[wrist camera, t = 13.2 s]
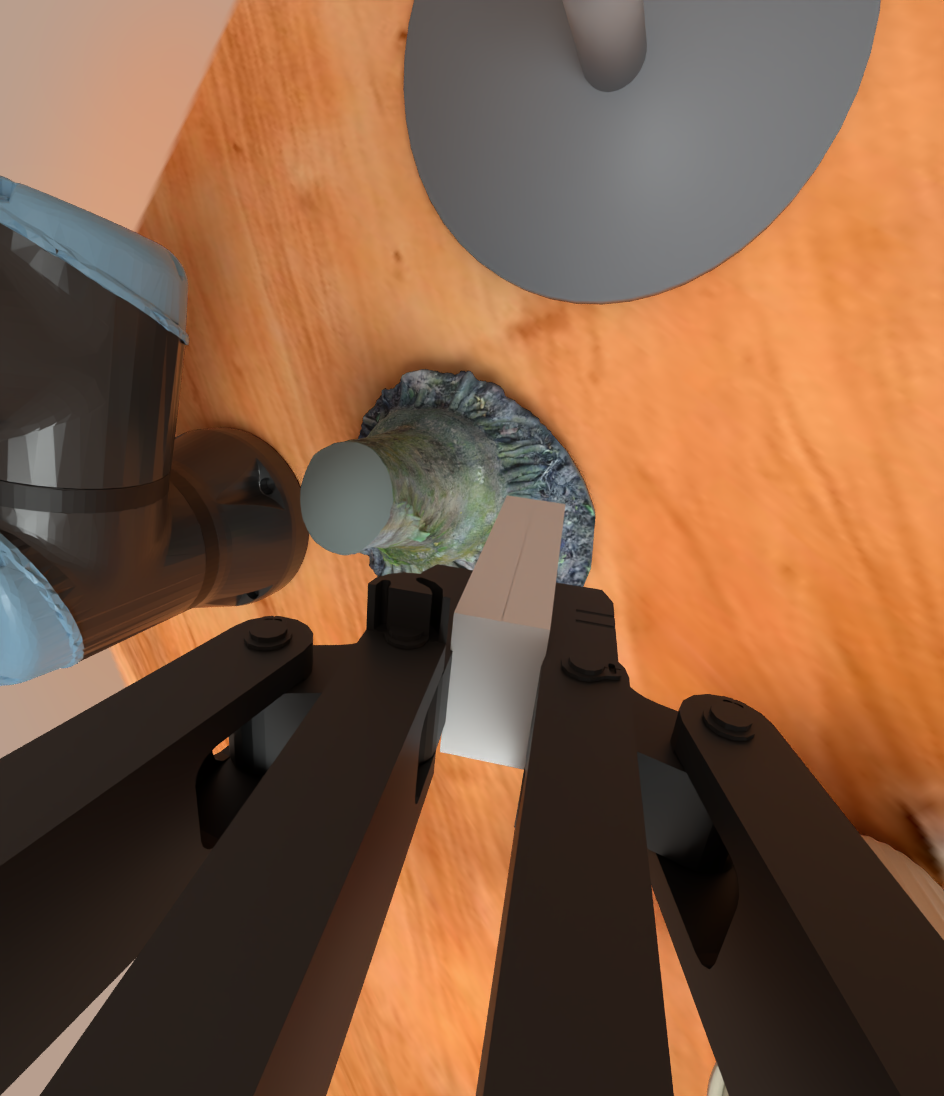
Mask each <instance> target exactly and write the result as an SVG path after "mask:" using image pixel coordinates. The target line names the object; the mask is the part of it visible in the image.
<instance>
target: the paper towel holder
mask: <svg viewBox="0 0 944 1096" xmlns="http://www.w3.org/2000/svg"><path fill="white" fill-rule="evenodd" d="M879 11H880V0H414V3H413V8H412V12H411V17H410V21H409V26H408V34H407V42H406V50H405V60H404V100H405V114H406V123H407V128H408V134H409V139H410V144H411V149H412V153H413V156H414V159H415V163H416V166H417V169H418V172H419V176H420V178H421V180H422V183H423V185H424V187H425V189H426V192H427V194H428V196H429V199H430V201H431V203H432V204H433V206H434V208H435V209H436V211H437V213H438V214H439V216H440V218H441V219H442V221H443V223H444V224H445V225H446V227H447V228H448V229H449V230H450V232H451V233H452V234H453V235H454V237H455V238H456V239H457V240H458V242H459V243H460V244H461V245H462V246H463V247H464V248H465V249H466V250H467V251H468V252H469V253H470V254H471V255H472V256H473V257H475V258H476V259H477V260H478V261H479V262H480V263H481V264H483V265H484V266H486V267H487V268H489V269H490V270H491V271H493V272H494V273H496V274H497V275H498V276H500V277H501V278H503V279H505V280H506V281H508V282H510V283H512V284H514V285H516V286H518V287H520V288H522V289H524V290H526V291H528V292H531V293H534V294H537V295H540V296H543V297H546V298H549V299H553V300H559V301H564V302H570V303H576V304H611V303H621V302H630V301H634V300H638V299H642V298H646V297H651V296H655V295H658V294H661V293H664V292H666V291H669V290H671V289H674V288H677V287H679V286H682V285H685V284H687V283H689V282H691V281H692V280H694V279H696V278H698V277H700V276H702V275H704V274H706V273H708V272H710V271H712V270H713V269H715V268H716V267H718V266H719V265H721V264H722V263H724V262H725V261H727V260H728V259H730V258H731V257H732V256H734V255H735V254H737V253H738V252H740V251H741V250H742V249H743V248H745V247H746V246H747V245H748V244H749V243H750V242H752V241H753V240H754V239H755V238H756V237H757V236H759V235H760V234H761V233H762V232H763V231H764V230H766V229H767V228H768V227H769V226H770V225H771V223H772V222H773V221H774V220H775V219H776V218H777V217H778V216H779V215H780V214H781V213H782V212H783V211H784V210H785V208H786V207H787V206H788V205H789V204H790V203H791V202H792V201H793V199H794V198H795V197H796V195H797V194H798V193H799V191H800V190H801V189H802V187H803V186H804V185H805V183H806V182H807V181H808V180H809V178H810V177H811V176H812V174H813V173H814V171H815V170H816V168H817V167H818V165H819V164H820V162H821V160H822V159H823V157H824V155H825V154H826V152H827V150H828V149H829V147H830V145H831V144H832V142H833V140H834V139H835V137H836V135H837V134H838V132H839V130H840V129H841V126H842V124H843V122H844V120H845V118H846V116H847V113H848V111H849V109H850V107H851V105H852V103H853V100H854V98H855V96H856V94H857V92H858V89H859V86H860V83H861V80H862V77H863V74H864V71H865V68H866V65H867V62H868V59H869V56H870V53H871V49H872V44H873V40H874V35H875V30H876V26H877V21H878V16H879Z"/></svg>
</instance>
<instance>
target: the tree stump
mask: <svg viewBox="0 0 944 1096" xmlns="http://www.w3.org/2000/svg"><path fill="white" fill-rule="evenodd" d="M400 381H401V382H400V383H399V384H397V385H396V386H395V388H393V389H389V390H388V389H386V388H385V389H383V390H382V395H381V396H380V398H379V399H378V400H377V402H376V404H375V406H374V407H373V408H372V409H371V410H369V411H368V413H366V414H365V415H364V417H363V423H362V425H361V427H362V428H361V430H360V435H359V437H358V439H354V440H348V441H345V442H338V443H334V444H332V445H330V446H328V447H326V448H323V449H322V450H320V451H319V452H317V453H316V454H315V455H314V456H313V458H312V459H311V461H310V463H309V465H308V467H307V470H306V472H305V475H304V478H303V481H302V485H301V490H300V505H301V513H302V518H303V521H304V523H305V525H306V528H307V530H308V532H309V533H310V535H311V537H312V538H313V540H314V541H315V542H316V543H318V544H319V545H320V546H322V547H323V548H325V549H326V550H328V551H330V552H333V553H337V554H340V555H350V554H356V553H362V554H364V555H368V556H369V557H370V564H369V566H370V567H371V569H373V570H374V573H375V574H376V575H377V577H380V576H383V575H387V574H391V573H403V572H406V573H418V574H421V573H422V572H423V571H425V570H427V569H429V568H431V567H433V566H435V565H437V564H439V565H445V566H451V567H457V568H463V569H469V570H474V567H475V565H476V563H477V561H478V558H479V556H480V554H481V552H482V550H483V547H484V545H485V543H486V541H487V539H488V536H489V534H490V532H491V530H492V528H493V525H494V523H495V521H496V519H497V517H498V514H499V512H500V510H501V508H502V505H503V503H504V501H505V499H506V497H507V495H508V496H514V497H521V498H528V499H534V500H541V501H547V502H554V503H561V504H565V512H564V520H563V528H562V536H561V545H560V553H559V561H558V569H557V577H556V582H557V583H563V584H569V585H575V586H581V587H583V586H584V583H585V581H586V579H587V576H588V574H589V571H590V569H591V562H592V550H593V537H594V527H595V509H594V506H593V504H592V501H591V498H590V496H589V493H588V490H587V487H586V484H585V482H584V480H583V478H582V476H581V474H580V472H579V470H578V469H577V467H576V465H575V464H574V462H573V460H572V459H571V457H570V455H569V454H568V452H567V451H566V449H565V448H564V447H563V446H562V445H561V444H560V443H559V442H558V440H557V439H556V438H555V437H554V436H553V435H552V434H551V431H550V430H548V429H547V428H546V426H545V425H543V424H541V423H540V421H539V418H537V417H536V416H534V415H533V414H532V413H531V412H530V411H529V410H527V409H525V408H523V407H521V406H520V405H519V404H517V403H516V402H515V400H512V399H510V398H508V397H506V396H505V394H504V391H503V389H502V388H501V387H500V386H498V385H496V384H495V383H493V382H486V381H479V380H477V379H476V378H475V376H474V375H473V373H472V372H471V371H466V372H465V371H460V373H459V374H456V375H454V374H452V373H440V372H438V371H432V370H426V369H422V370H418V371H413V372H408V373H406V374H404V375H402V377H401V380H400Z"/></svg>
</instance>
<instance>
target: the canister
mask: <svg viewBox="0 0 944 1096" xmlns="http://www.w3.org/2000/svg"><path fill="white" fill-rule="evenodd" d="M861 836H862V837H863V839H864V840H865V841H866V843H867V844H868V845H869V846H870V848H871V849H872V850H873V851H874V853H875V854H876V855H877V856H878V858H879V859H880V860H881V861H882V863H883V864H884V865H885V867H886V868H887V869H888V870H889V872H890V873H891V874H892V875H893V877H894V878H895V879H896V880H897V882H898V883H899V884H900V885H901V887H902V888H903V889H904V891H905V892H906V893H907V894H908V896H909V897H910V898H911V899H912V901H913V902H914V903H915V904H916V906H917V907H918V908H919V909H920V911H921V912H922V913H923V915H924V916H925V917H926V918H927V920H928V921H929V922H930V923H931V925H932V926H933V927H934V928H935V930H936V931H937V932H938V933H939V935H940V936H941V937H942V939H943V940H944V890H943V889H942V888H941V887H940V886H939V885H938V884H937V883H936V882H935V881H934V880H933V879H932V878H931V877H930V875H929V874H928V873H927V872H926V871H925V870H924V869H923V868H921V867H920V866H919V865H917V864H916V863H914V862H913V861H912V860H911V859H910V858H908V857H907V856H906V855H905V854H903V853H901V852H899V851H897V850H894V849H893V848H892V847H891V846H889V845H888V844H886V843H883V842H879V841H877V840H875V839H873V838H872V837H870V836H863V835H861ZM707 1096H729V1095H728V1092H727V1089H726V1086H725V1084H724V1081H723V1078H722V1076H721V1073H720V1070H719V1067H718V1065H717V1062H716V1063H715V1065H714V1067H713V1070H712V1072H711V1075H710V1079H709V1083H708V1089H707Z"/></svg>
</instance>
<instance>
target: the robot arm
mask: <svg viewBox="0 0 944 1096" xmlns="http://www.w3.org/2000/svg"><path fill="white" fill-rule="evenodd" d="M187 301H188V279H187V275H186V272H185V270H184V268H183V266H182V264H181V263H180V262H179V260H178V259H177V258H176V257H175V256H174V255H173V254H172V253H171V252H170V251H169V250H168V249H166V248H165V247H163V246H162V245H160V244H158V243H156V242H154V241H152V240H150V239H148V238H146V237H144V236H142V235H140V234H138V233H136V232H133V231H131V230H129V229H127V228H125V227H123V226H120V225H118V224H116V223H113V222H111V221H109V220H107V219H105V218H102V217H100V216H98V215H95V214H93V213H91V212H89V211H86V210H84V209H82V208H79V207H77V206H75V205H72V204H70V203H67V202H65V201H63V200H60V199H58V198H55V197H53V196H51V195H48V194H46V193H43V192H41V191H38V190H36V189H33V188H31V187H28V186H26V185H23V184H20V183H15V182H13V181H11V180H10V179H8V178H5V177H3V176H0V686H2V685H13V684H18V683H22V682H25V681H28V680H31V679H33V678H36V677H38V676H41V675H44V674H46V673H49V672H51V671H54V670H57V669H59V668H68V667H71V666H73V665H75V664H77V663H78V662H80V661H82V660H84V659H86V658H88V657H90V656H92V655H94V654H96V653H99V652H100V651H103V650H105V649H107V648H109V647H111V646H113V645H115V644H117V643H120V642H122V641H124V640H126V639H128V638H130V637H132V636H134V635H136V634H138V633H141V632H143V631H145V630H147V629H149V628H151V627H153V626H155V625H157V624H159V623H162V622H164V621H166V620H168V619H170V618H172V617H174V616H176V615H178V614H180V613H182V612H185V611H187V610H189V609H191V608H202V607H224V606H240V605H246V604H250V603H254V602H257V601H259V600H261V599H263V598H265V597H267V596H269V595H271V594H273V593H275V592H277V591H279V590H280V589H282V588H283V587H284V586H286V585H287V584H288V583H289V582H290V581H291V580H292V578H293V577H294V576H295V574H296V573H297V572H298V570H299V568H300V566H301V564H302V562H303V559H304V557H305V553H306V549H307V545H308V536H309V532H308V530H307V528H306V525H305V523H304V521H303V518H302V513H301V505H300V490H301V488H300V486H299V484H298V482H297V480H296V478H295V476H294V474H293V472H292V471H291V469H290V468H289V466H288V465H287V464H286V462H285V461H284V460H283V459H282V457H281V456H280V455H279V454H278V453H277V452H276V451H275V450H274V449H273V448H272V447H270V446H269V445H268V444H267V443H265V442H264V441H262V440H261V439H259V438H258V437H256V436H254V435H252V434H250V433H247V432H245V431H242V430H239V429H234V428H225V427H220V428H207V429H198V430H193V431H189V432H186V433H183V434H181V435H179V436H177V437H175V432H176V423H177V414H178V405H179V397H180V388H181V379H182V370H183V361H184V352H185V345H189V336H188V334H187V333H186V319H187ZM564 512H565V504H561V503H554V502H547V501H541V500H534V499H528V498H521V497H514V496H508V495H507V497H506V499H505V501H504V503H503V505H502V508H501V510H500V512H499V514H498V517H497V519H496V521H495V523H494V525H493V528H492V530H491V532H490V534H489V536H488V539H487V541H486V543H485V545H484V547H483V550H482V552H481V554H480V556H479V558H478V561H477V563H476V565H475V567H474V570H469V569H463V568H457V567H451V566H445V565H439V564H437V565H435V566H433V567H431V568H429V569H427V570H425V571H423V572H422V573H421V574H418V573H406V572H403V573H391V574H387V575H383V576H380V577H377V578H375V579H374V580H372V581H371V582H370V583H368V602H367V628H366V631H365V632H364V634H363V635H362V637H361V638H360V639H359V641H358V642H357V643H355V644H348V645H313V633H312V631H311V630H310V628H309V627H308V626H307V625H306V624H304V623H302V622H300V621H298V620H295V619H290V618H285V617H281V616H275V617H273V616H265V617H262V618H257V619H251V620H248V621H245V622H243V623H241V624H238V625H236V626H234V627H232V628H230V629H229V630H227V631H225V632H223V633H221V634H220V635H218V636H216V637H214V638H213V639H211V640H209V641H207V642H206V643H204V644H202V645H200V646H199V647H197V648H195V649H193V650H191V651H190V652H188V653H186V654H184V655H183V656H181V657H179V658H177V659H176V660H174V661H172V662H170V663H168V664H167V665H165V666H163V667H161V668H160V669H158V670H156V671H154V672H153V673H151V674H149V675H147V676H146V677H144V678H142V679H140V680H138V681H137V682H135V683H133V684H131V685H130V686H128V687H126V688H124V689H123V690H121V691H119V692H118V693H116V694H114V695H112V696H110V697H109V698H107V699H105V700H103V701H101V702H100V703H98V704H96V705H94V706H93V707H91V708H89V709H87V710H85V711H84V712H82V713H80V714H78V715H77V716H75V717H73V718H71V719H70V720H68V721H66V722H64V723H63V724H61V725H59V726H57V727H56V728H54V729H52V730H50V731H49V732H47V733H45V734H43V735H41V736H40V737H38V738H36V739H34V740H33V741H31V742H29V743H27V744H25V745H24V746H22V747H20V748H18V749H17V750H15V751H13V752H11V753H10V754H8V755H6V756H4V757H3V758H1V759H0V1095H1V1094H2V1093H3V1092H4V1091H5V1090H6V1089H7V1088H8V1087H9V1086H10V1085H11V1084H12V1083H13V1082H14V1081H15V1080H16V1079H17V1078H18V1077H19V1076H20V1075H21V1074H22V1073H23V1072H24V1071H25V1070H26V1069H27V1068H28V1067H29V1066H30V1065H31V1064H32V1063H33V1062H34V1061H35V1060H36V1059H37V1058H38V1057H39V1056H40V1055H41V1054H42V1053H43V1052H44V1051H45V1050H46V1049H47V1048H48V1047H49V1046H50V1045H51V1044H52V1042H54V1041H55V1040H56V1039H57V1037H58V1036H59V1035H60V1034H61V1033H62V1032H63V1031H64V1030H65V1029H66V1028H67V1027H68V1026H69V1025H70V1024H71V1023H72V1022H73V1021H74V1020H75V1019H76V1018H77V1017H78V1016H79V1015H80V1014H81V1013H82V1012H83V1011H84V1010H85V1009H86V1008H87V1007H88V1006H89V1005H90V1004H91V1003H92V1002H93V1001H94V1000H95V999H96V998H97V997H98V996H99V995H100V994H101V993H102V992H103V991H104V990H105V989H106V988H107V987H108V986H109V984H111V983H112V982H113V981H114V979H116V978H117V977H118V975H120V973H121V972H123V971H124V969H125V968H126V967H127V966H128V965H129V964H130V963H131V962H132V961H133V960H134V959H135V958H136V957H137V958H136V959H135V960H134V962H133V963H132V965H131V966H130V967H129V969H128V970H127V972H126V973H125V975H124V976H123V978H122V979H121V980H120V982H119V983H118V985H117V986H116V987H115V989H114V990H113V992H112V993H111V995H110V996H109V997H108V999H107V1000H106V1002H105V1003H104V1005H103V1006H102V1008H101V1009H100V1010H99V1012H98V1013H97V1015H96V1016H95V1017H94V1019H93V1020H92V1022H91V1023H90V1025H89V1026H88V1028H87V1029H86V1030H85V1032H84V1033H83V1035H82V1036H81V1037H80V1039H79V1040H78V1042H77V1043H76V1045H75V1046H74V1047H73V1049H72V1050H71V1052H70V1053H69V1055H68V1056H67V1057H66V1059H65V1060H64V1062H63V1063H62V1064H61V1066H60V1068H59V1069H58V1070H57V1072H56V1073H55V1075H54V1076H53V1077H52V1079H51V1080H50V1082H49V1083H48V1084H47V1086H46V1087H45V1089H44V1090H43V1092H42V1093H41V1094H40V1096H326V1094H327V1091H328V1088H329V1085H330V1082H331V1079H332V1076H333V1073H334V1070H335V1067H336V1064H337V1061H338V1058H339V1055H340V1052H341V1049H342V1046H343V1043H344V1040H345V1037H346V1034H347V1031H348V1028H349V1025H350V1022H351V1019H352V1016H353V1013H354V1010H355V1007H356V1004H357V1001H358V998H359V995H360V992H361V989H362V986H363V983H364V980H365V977H366V974H367V971H368V968H369V965H370V962H371V959H372V956H373V953H374V950H375V947H376V944H377V941H378V938H379V935H380V932H381V929H382V926H383V923H384V920H385V917H386V914H387V911H388V908H389V905H390V902H391V900H392V897H393V894H394V891H395V888H396V885H397V882H398V879H399V876H400V873H401V870H402V867H403V864H404V861H405V858H406V855H407V852H408V849H409V846H410V843H411V840H412V837H413V834H414V831H415V828H416V825H417V822H418V819H419V816H420V813H421V810H422V807H423V804H424V801H425V798H426V795H427V792H428V789H429V786H430V783H431V780H432V777H433V774H434V764H435V754H436V748H437V745H438V742H439V739H440V736H441V734H442V736H441V746H440V752H443V753H448V754H453V755H458V756H463V757H467V758H472V759H477V760H482V761H486V762H491V763H496V764H501V765H505V766H510V767H515V768H520V769H524V773H523V779H522V785H521V791H520V797H519V803H518V809H517V814H516V820H515V826H514V827H515V832H514V839H513V845H512V852H511V859H510V866H509V873H508V879H507V886H506V893H505V900H504V907H503V913H502V920H501V927H500V934H499V941H498V948H497V954H496V961H495V968H494V975H493V982H492V988H491V995H490V1002H489V1009H488V1016H487V1022H486V1029H485V1036H484V1043H483V1050H482V1056H481V1063H480V1070H479V1077H478V1084H477V1091H476V1096H674V1093H673V1084H672V1075H671V1065H670V1056H669V1047H668V1037H667V1028H666V1019H665V1009H664V1000H663V991H662V981H661V972H660V963H659V953H658V944H657V935H656V925H655V916H654V907H653V897H652V888H653V890H654V893H655V896H656V899H657V901H658V904H659V907H660V910H661V912H662V915H663V918H664V920H665V923H666V926H667V929H668V931H669V934H670V937H671V939H672V942H673V945H674V948H675V950H676V953H677V956H678V959H679V961H680V964H681V967H682V969H683V972H684V975H685V978H686V980H687V983H688V986H689V988H690V991H691V994H692V997H693V999H694V1002H695V1005H696V1008H697V1010H698V1013H699V1016H700V1018H701V1021H702V1024H703V1027H704V1029H705V1032H706V1035H707V1037H708V1040H709V1043H710V1046H711V1048H712V1051H713V1054H714V1057H715V1059H716V1062H717V1065H718V1067H719V1070H720V1073H721V1076H722V1078H723V1081H724V1084H725V1086H726V1089H727V1092H728V1095H729V1096H944V940H943V939H942V937H941V936H940V935H939V933H938V932H937V931H936V930H935V928H934V927H933V926H932V925H931V923H930V922H929V921H928V920H927V918H926V917H925V916H924V915H923V913H922V912H921V911H920V909H919V908H918V907H917V906H916V904H915V903H914V902H913V901H912V899H911V898H910V897H909V896H908V894H907V893H906V892H905V891H904V889H903V888H902V887H901V885H900V884H899V883H898V882H897V880H896V879H895V878H894V877H893V875H892V874H891V873H890V872H889V870H888V869H887V868H886V867H885V865H884V864H883V863H882V861H881V860H880V859H879V858H878V856H877V855H876V854H875V853H874V851H873V850H872V849H871V848H870V846H869V845H868V844H867V843H866V841H865V840H864V839H863V837H862V836H861V835H860V834H859V832H858V831H857V830H856V829H855V827H854V826H853V825H852V824H851V822H850V821H849V820H848V819H847V817H846V816H845V815H844V813H843V812H842V811H841V810H840V808H839V807H838V806H837V805H836V803H835V802H834V801H833V800H832V798H831V797H830V796H829V795H828V793H827V792H826V791H825V789H824V788H823V787H822V786H821V784H820V783H819V782H818V781H817V779H816V778H815V777H814V776H813V774H812V773H811V772H810V771H809V769H808V768H807V767H806V765H805V764H804V763H803V762H802V760H801V759H800V758H799V757H798V755H797V754H796V753H795V752H794V750H793V749H792V748H791V747H790V745H789V744H788V743H787V741H786V740H785V739H784V738H783V736H782V735H781V734H780V733H779V731H778V730H777V729H776V728H775V726H774V725H773V724H772V723H771V722H770V721H769V720H767V719H766V718H765V717H764V716H763V715H762V714H761V713H759V712H758V711H756V710H754V709H753V708H751V707H749V706H747V705H746V704H744V703H742V702H740V701H738V700H733V699H732V698H729V697H725V696H717V695H711V694H703V695H693V696H691V697H689V698H687V699H685V700H683V702H682V704H681V706H680V709H679V712H678V711H676V710H673V709H670V708H668V707H665V706H663V705H660V704H658V703H655V702H653V701H651V700H649V699H647V698H645V697H643V696H642V695H640V694H639V693H637V692H636V691H634V690H633V689H632V688H631V687H630V682H629V677H628V674H627V672H626V670H625V668H624V667H623V666H622V665H621V664H620V663H619V662H618V653H617V641H616V630H615V618H614V607H613V602H612V601H611V600H610V599H609V597H608V596H607V595H606V594H605V593H604V592H603V591H602V590H598V589H593V588H587V587H581V586H575V585H569V584H563V583H557V582H556V577H557V569H558V561H559V553H560V545H561V536H562V528H563V520H564ZM227 737H229V746H227V747H226V748H225V749H223V750H222V751H221V752H219V753H217V754H215V755H213V752H212V750H213V749H214V748H215V747H216V746H217V745H218V744H220V743H221V742H222V741H224V740H225V739H226V738H227ZM651 885H652V888H651Z"/></svg>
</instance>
